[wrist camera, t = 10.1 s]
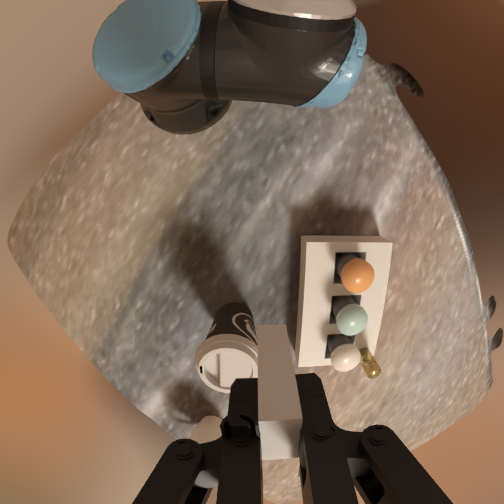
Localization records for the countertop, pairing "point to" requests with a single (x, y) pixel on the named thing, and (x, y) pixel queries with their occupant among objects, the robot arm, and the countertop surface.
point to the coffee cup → (228, 349)
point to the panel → (337, 293)
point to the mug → (207, 430)
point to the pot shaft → (369, 363)
